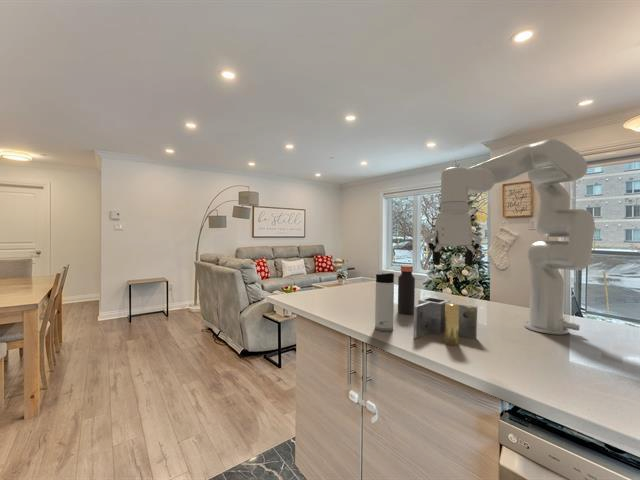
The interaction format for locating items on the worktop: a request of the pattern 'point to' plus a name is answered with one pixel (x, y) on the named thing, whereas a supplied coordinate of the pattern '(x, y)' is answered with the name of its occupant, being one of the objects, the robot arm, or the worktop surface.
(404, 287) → the bottle
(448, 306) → the hinge pin
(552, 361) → the worktop surface
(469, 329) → the hinge
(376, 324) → the travel mug
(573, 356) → the worktop surface
